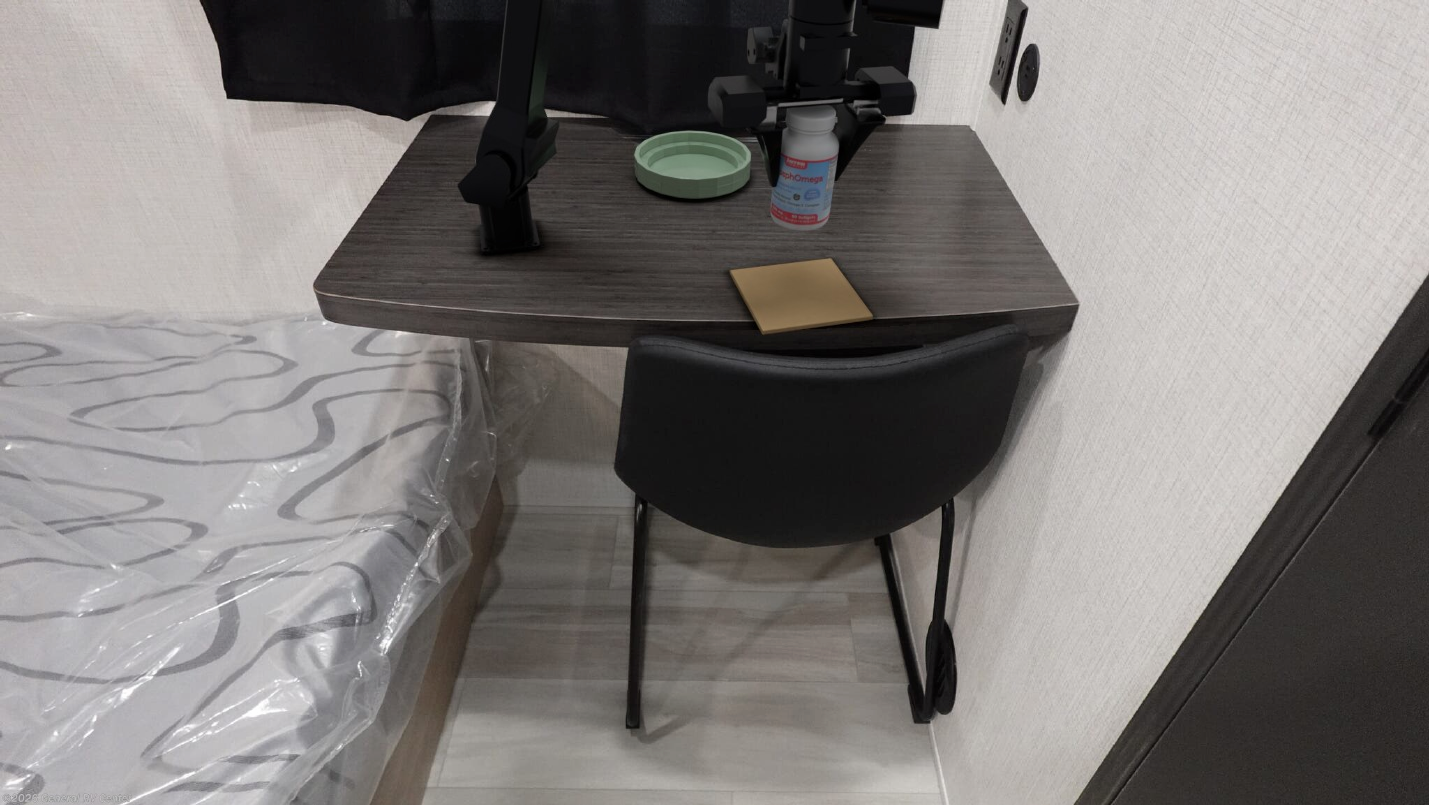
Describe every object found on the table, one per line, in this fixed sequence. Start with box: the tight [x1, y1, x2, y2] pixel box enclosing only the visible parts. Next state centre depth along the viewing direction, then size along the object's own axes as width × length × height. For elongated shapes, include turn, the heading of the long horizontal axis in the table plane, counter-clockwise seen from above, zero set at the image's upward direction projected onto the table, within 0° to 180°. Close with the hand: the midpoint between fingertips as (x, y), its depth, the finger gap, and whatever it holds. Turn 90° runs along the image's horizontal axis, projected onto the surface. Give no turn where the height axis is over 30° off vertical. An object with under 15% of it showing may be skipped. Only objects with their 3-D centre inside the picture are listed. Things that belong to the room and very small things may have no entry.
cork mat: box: [729, 258, 874, 335], centre depth 90 cm, size 12×12×1 cm
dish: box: [633, 130, 752, 200], centre depth 111 cm, size 15×15×3 cm
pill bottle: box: [770, 105, 839, 232], centre depth 82 cm, size 6×6×11 cm
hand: (803, 182), depth 83 cm, fingers closed on pill bottle, 6 cm apart
